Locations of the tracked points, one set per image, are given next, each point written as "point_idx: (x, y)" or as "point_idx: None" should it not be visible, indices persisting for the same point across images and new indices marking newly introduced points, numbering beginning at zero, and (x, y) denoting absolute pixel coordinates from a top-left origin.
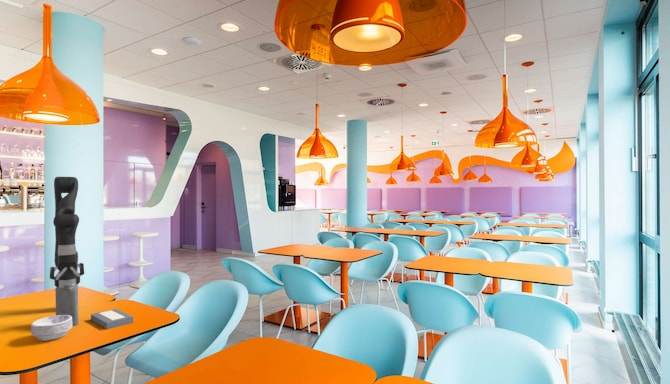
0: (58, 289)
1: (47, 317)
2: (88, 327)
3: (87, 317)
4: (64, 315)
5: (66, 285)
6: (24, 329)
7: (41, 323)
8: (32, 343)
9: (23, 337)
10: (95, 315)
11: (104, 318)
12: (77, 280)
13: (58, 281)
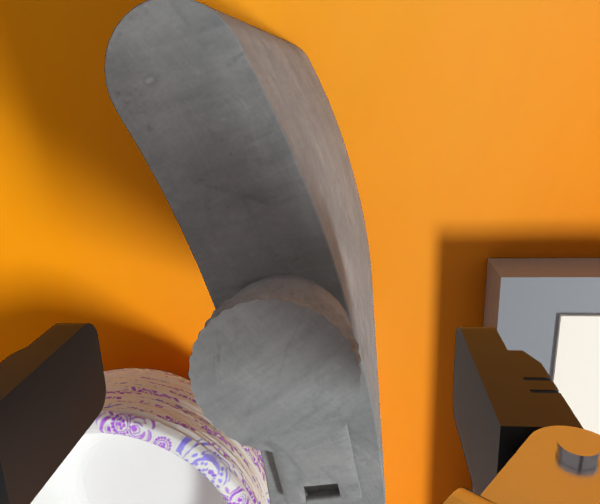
0: (156, 164)
1: (99, 431)
2: (397, 435)
3: (503, 141)
4: (220, 493)
5: (235, 425)
6: (22, 80)
7: None
8: None
9: (19, 301)
10: None
11: None
12: (475, 471)
13: (29, 492)
